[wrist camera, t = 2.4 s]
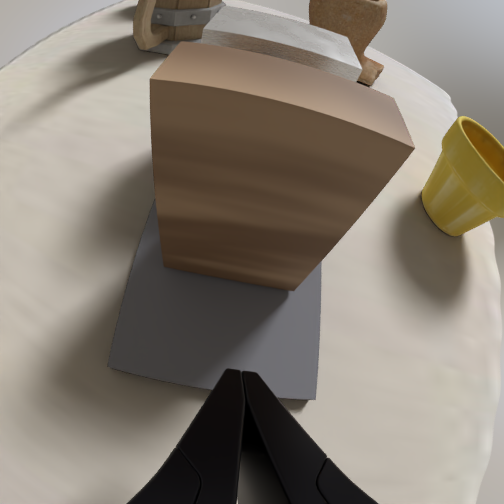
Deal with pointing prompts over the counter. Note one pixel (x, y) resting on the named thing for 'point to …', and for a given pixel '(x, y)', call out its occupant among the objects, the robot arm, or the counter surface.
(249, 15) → the bearing block
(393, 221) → the counter surface
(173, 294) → the mat
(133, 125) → the counter surface
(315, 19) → the stone cup
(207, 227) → the wood block
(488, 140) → the plant pot
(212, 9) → the tankard
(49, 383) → the counter surface
